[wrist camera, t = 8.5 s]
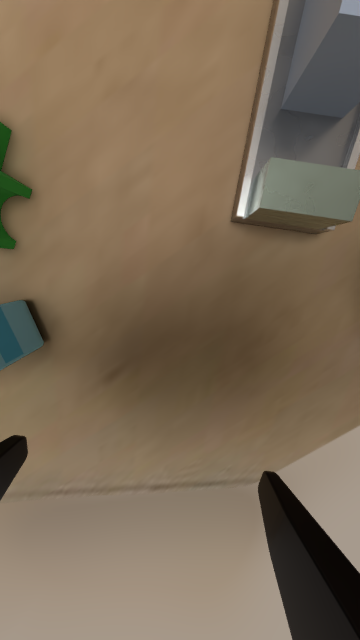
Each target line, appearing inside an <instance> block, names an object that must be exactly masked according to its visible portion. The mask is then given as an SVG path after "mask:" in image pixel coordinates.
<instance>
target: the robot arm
mask: <svg viewBox="0 0 360 640" xmlns="http://www.w3.org/2000/svg"><path fill="white" fill-rule="evenodd" d="M27 454H28V449H27V439H26V437H25V436H19V435H13V436H11V437H9V438H7V439H5V440H4V441H2V442H0V500H1V499H2V497H3V495H4V494H5V492H6V491H7V489H8V487H9V486H10V484H11V482H12V481H13V479H14V478H15V476H16V474H17V473H18V471H19V469H20V468H21V466H22V465H23V463H24V461H25V460H26V458H27ZM258 493H259V500H260V504H261V510H262V516H263V521H264V526H265V532H266V537H267V543H268V547H269V552H270V556H271V560H272V564H273V568H274V571H275V575H276V579H277V583H278V587H279V590H280V594H281V598H282V602H283V606H284V609H285V613H286V617H287V620H288V624H289V628H290V632H291V636H292V640H360V573H359V572H358V571H357V570H356V568H355V567H354V566H353V565H352V564H351V562H350V561H349V560H348V559H347V558H346V556H345V555H344V554H343V553H342V552H341V550H340V549H339V548H338V547H337V546H336V544H335V543H334V542H333V541H332V540H331V538H330V537H329V536H328V535H327V534H326V532H325V531H324V530H323V529H322V528H321V526H320V525H319V524H318V523H317V522H316V520H315V519H314V518H313V517H312V516H311V514H310V513H309V512H308V511H307V510H306V508H305V507H304V506H303V505H302V503H301V502H300V501H299V500H298V499H297V498H296V496H295V495H294V494H293V493H292V491H291V490H290V489H289V488H288V487H287V485H286V484H285V483H284V482H283V481H282V479H281V478H280V477H279V476H278V475H277V474H276V473H275V472H271V471H264V472H263V474H262V477H261V480H260V482H259V485H258Z"/></svg>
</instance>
